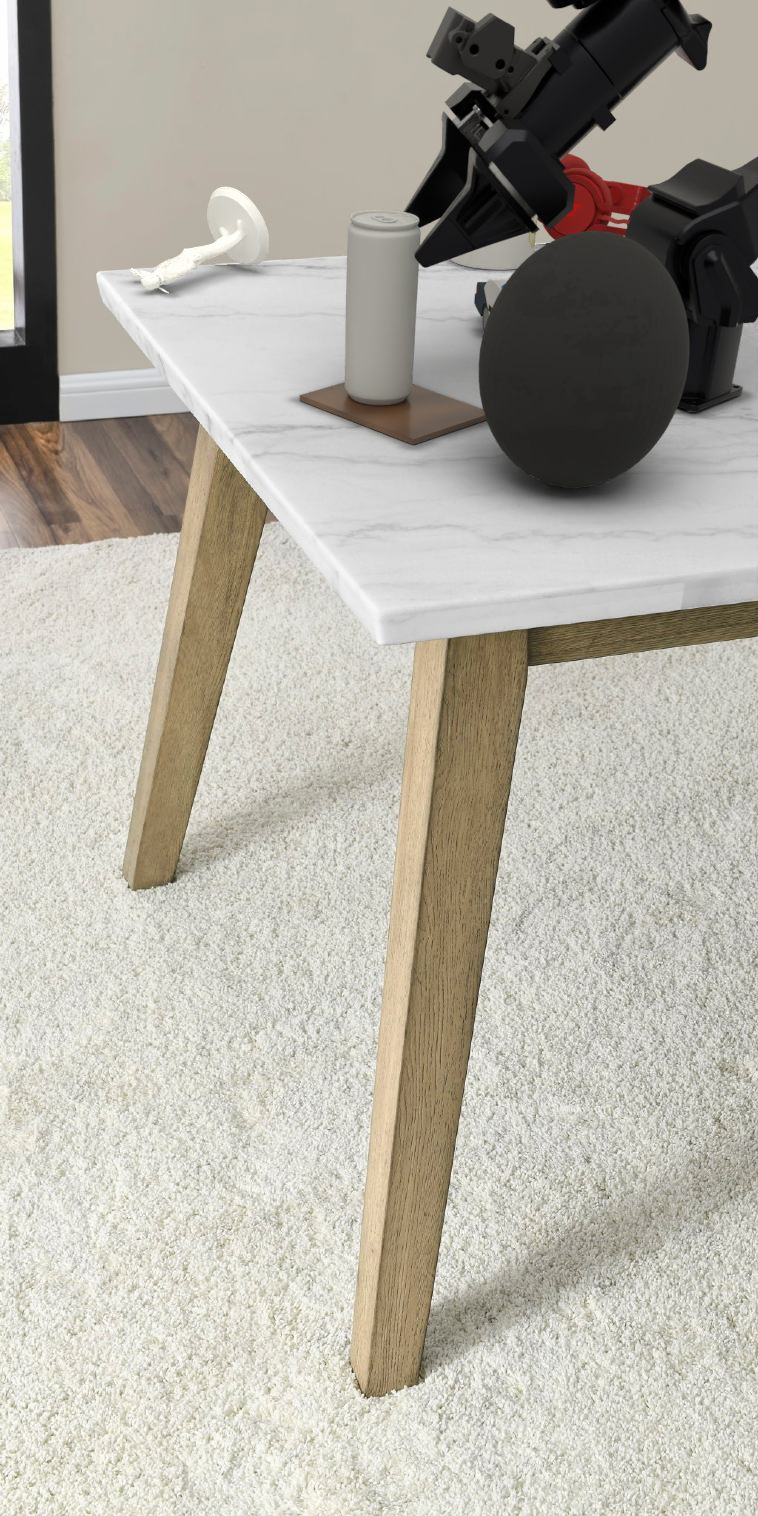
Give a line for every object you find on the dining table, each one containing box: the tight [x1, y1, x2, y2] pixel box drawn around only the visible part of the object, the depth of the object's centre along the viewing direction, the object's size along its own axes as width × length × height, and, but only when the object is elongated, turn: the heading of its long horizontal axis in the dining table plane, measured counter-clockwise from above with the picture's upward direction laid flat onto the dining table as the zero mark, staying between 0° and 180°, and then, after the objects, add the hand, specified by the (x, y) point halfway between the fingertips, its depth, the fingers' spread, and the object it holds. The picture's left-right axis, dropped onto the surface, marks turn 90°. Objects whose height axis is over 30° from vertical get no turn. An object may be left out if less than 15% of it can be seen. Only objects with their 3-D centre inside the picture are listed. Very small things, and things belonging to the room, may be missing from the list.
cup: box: [449, 215, 538, 271], centre depth 130 cm, size 8×8×12 cm
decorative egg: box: [478, 231, 689, 489], centre depth 84 cm, size 12×12×15 cm
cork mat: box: [299, 381, 487, 446], centre depth 98 cm, size 11×8×1 cm
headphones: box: [537, 153, 653, 241], centre depth 141 cm, size 15×7×20 cm
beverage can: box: [344, 209, 422, 406], centre depth 95 cm, size 5×5×12 cm
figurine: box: [129, 186, 270, 294], centre depth 121 cm, size 7×7×12 cm
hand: (410, 243), depth 94 cm, fingers open, 9 cm apart
